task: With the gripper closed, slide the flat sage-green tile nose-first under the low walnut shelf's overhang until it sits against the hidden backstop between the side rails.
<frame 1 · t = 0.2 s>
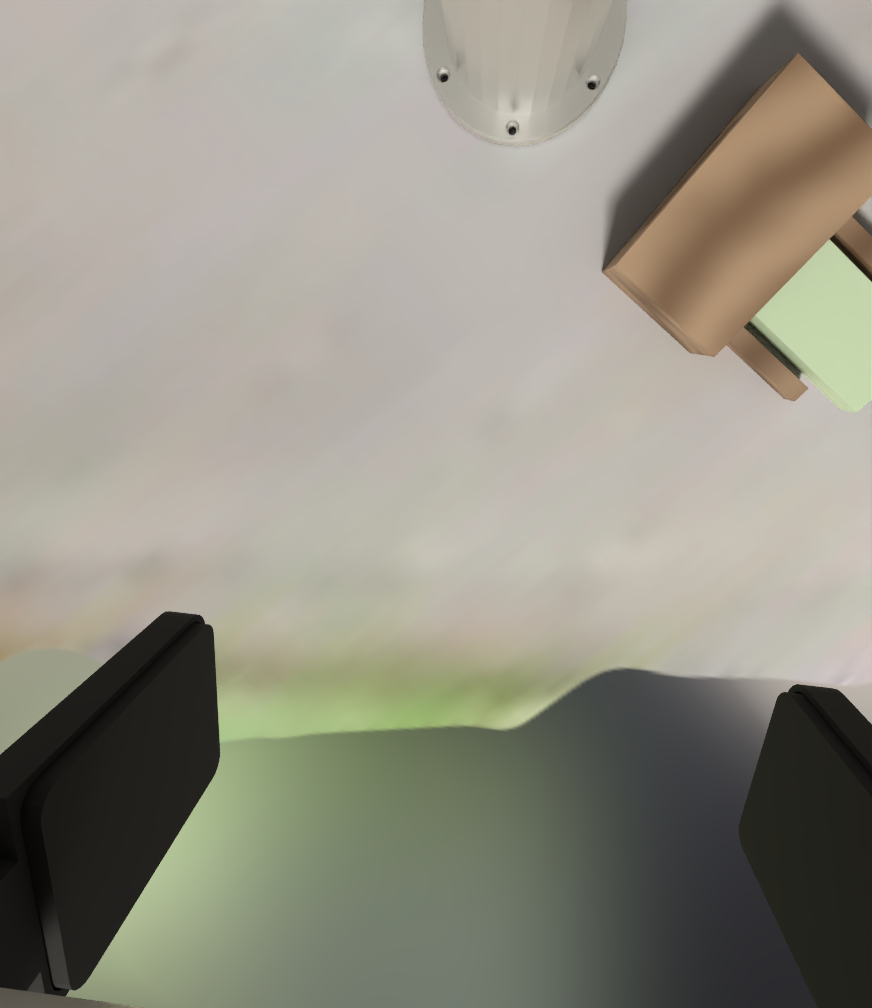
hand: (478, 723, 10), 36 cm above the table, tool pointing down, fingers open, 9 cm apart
tile: (818, 324, 41), on the table
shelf: (751, 257, 39), on the table
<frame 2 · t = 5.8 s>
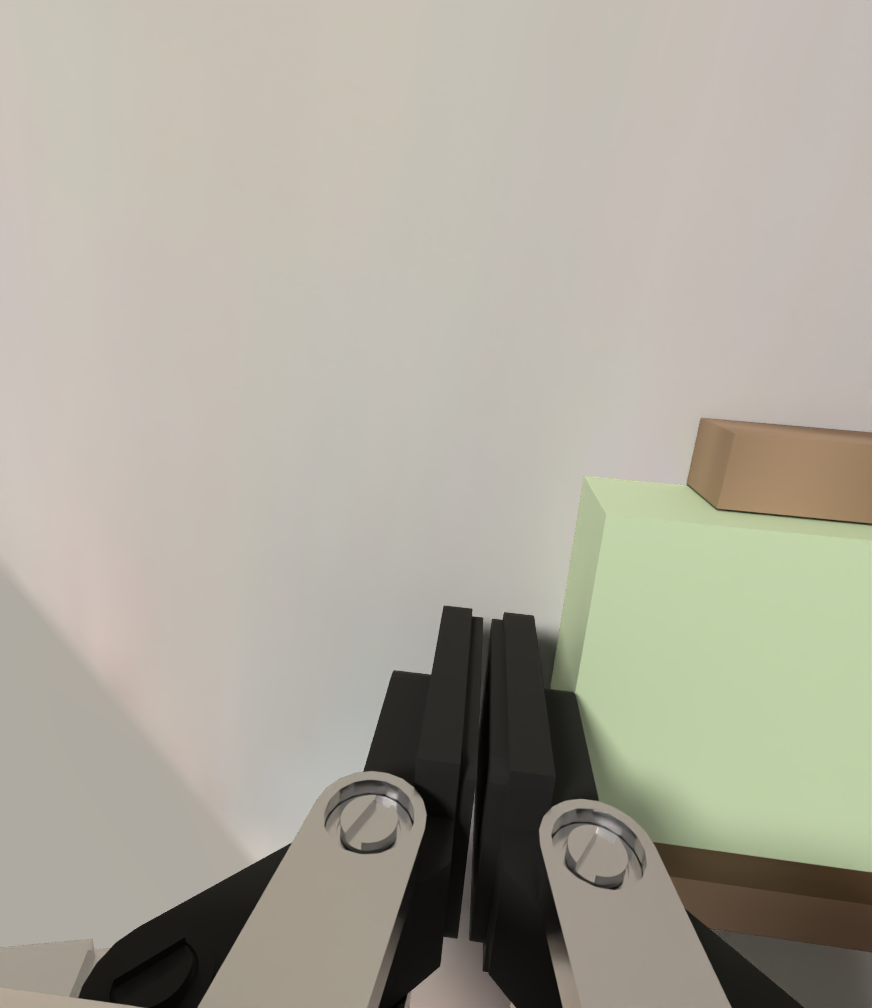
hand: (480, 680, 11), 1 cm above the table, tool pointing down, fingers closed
tile: (838, 644, 11), on the table, touching gripper
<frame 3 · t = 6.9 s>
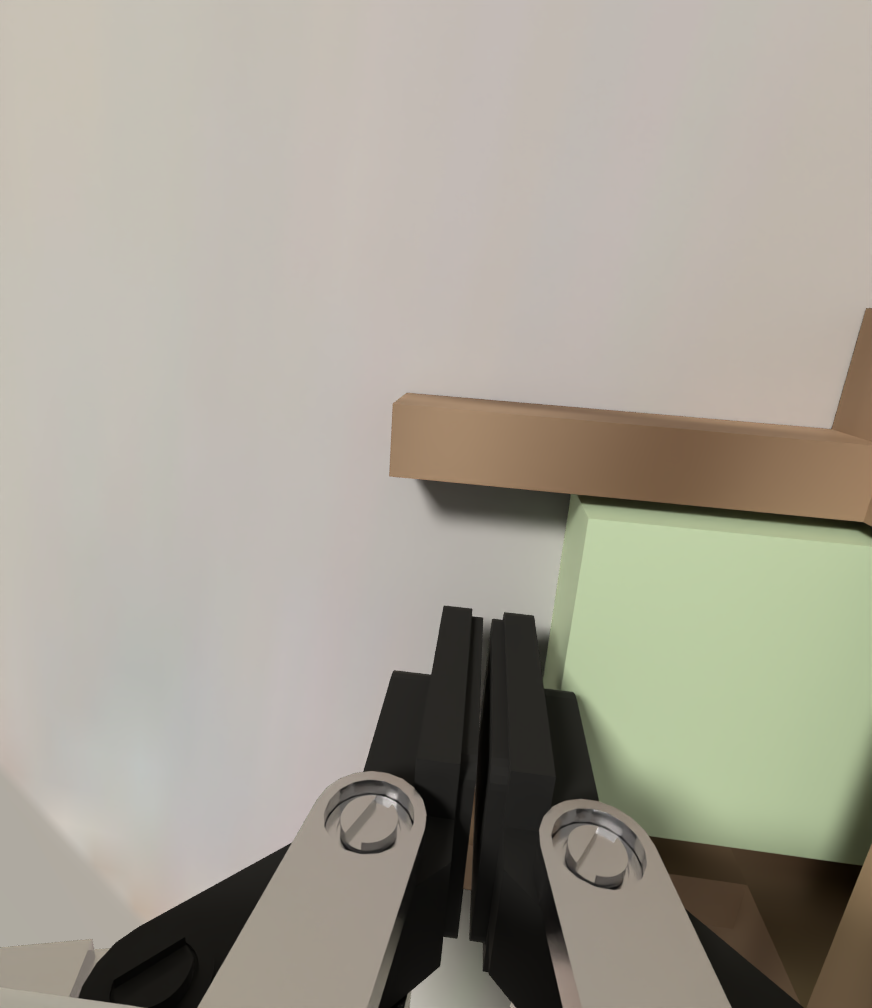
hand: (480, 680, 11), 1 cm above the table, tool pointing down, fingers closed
tile: (818, 644, 12), on the table
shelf: (838, 683, 11), on the table
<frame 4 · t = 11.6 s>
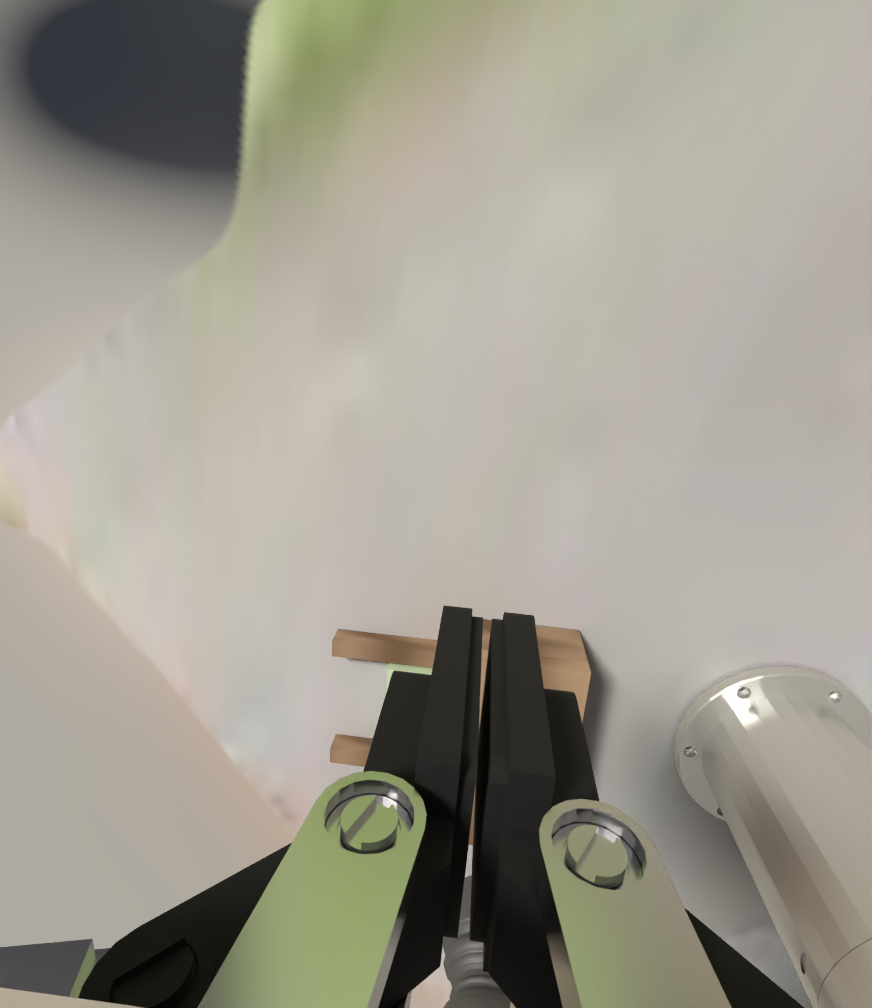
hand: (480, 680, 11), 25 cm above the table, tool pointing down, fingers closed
tile: (468, 694, 41), on the table
candle holder: (484, 902, 46), on the table
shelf: (461, 705, 40), on the table
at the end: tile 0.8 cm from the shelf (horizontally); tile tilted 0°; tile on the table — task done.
